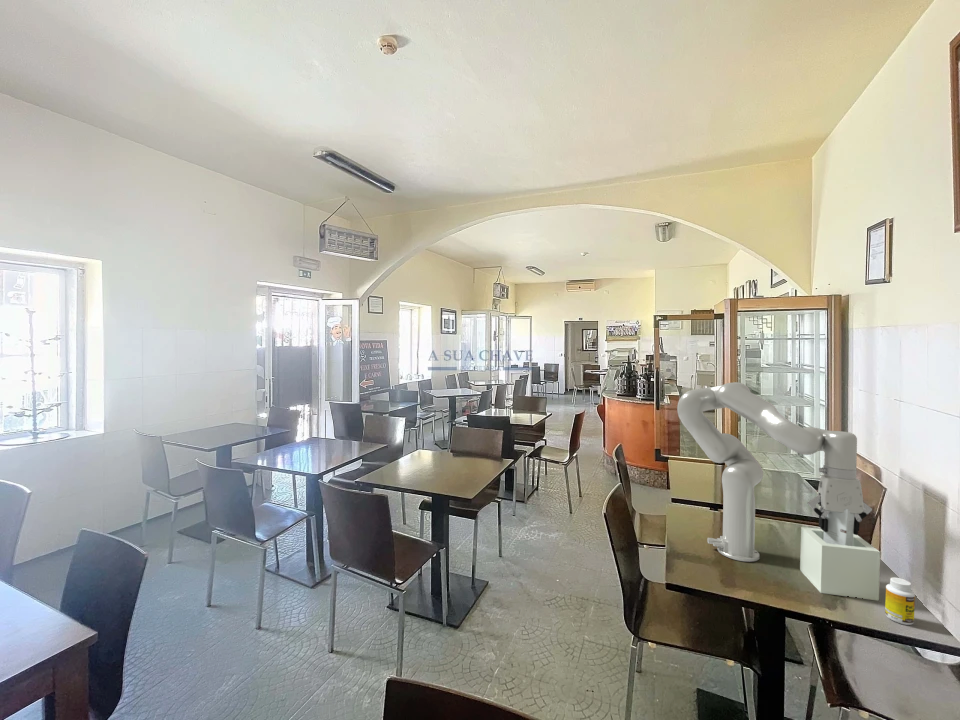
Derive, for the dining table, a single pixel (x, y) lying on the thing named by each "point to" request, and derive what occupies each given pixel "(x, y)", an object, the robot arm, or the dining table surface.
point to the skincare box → (840, 528)
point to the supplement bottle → (900, 601)
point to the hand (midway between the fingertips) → (838, 531)
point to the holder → (840, 565)
